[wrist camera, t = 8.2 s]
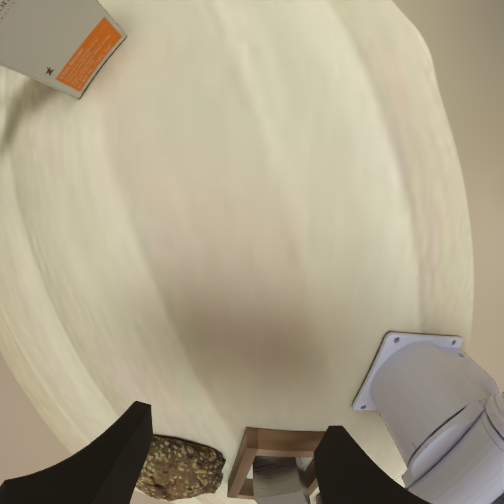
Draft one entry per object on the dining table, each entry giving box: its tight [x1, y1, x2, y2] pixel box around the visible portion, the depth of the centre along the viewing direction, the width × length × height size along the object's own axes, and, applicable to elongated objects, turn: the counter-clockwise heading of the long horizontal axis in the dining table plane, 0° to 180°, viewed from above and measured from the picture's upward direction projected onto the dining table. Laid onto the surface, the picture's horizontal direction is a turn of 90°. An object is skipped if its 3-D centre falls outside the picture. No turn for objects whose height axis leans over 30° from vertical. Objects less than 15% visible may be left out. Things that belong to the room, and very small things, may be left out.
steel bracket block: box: [253, 455, 310, 504], centre depth 19 cm, size 6×4×6 cm, turn 17°
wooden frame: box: [227, 427, 325, 499], centre depth 21 cm, size 9×11×2 cm
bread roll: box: [136, 435, 226, 501], centre depth 21 cm, size 13×12×5 cm
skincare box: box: [0, 0, 126, 99], centre depth 8 cm, size 6×4×12 cm
